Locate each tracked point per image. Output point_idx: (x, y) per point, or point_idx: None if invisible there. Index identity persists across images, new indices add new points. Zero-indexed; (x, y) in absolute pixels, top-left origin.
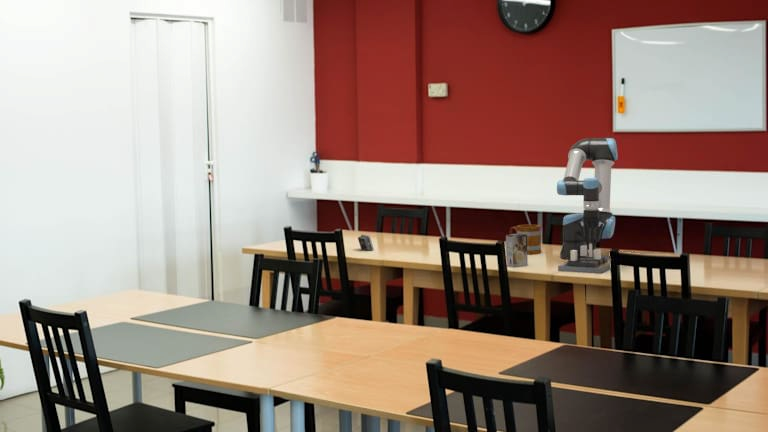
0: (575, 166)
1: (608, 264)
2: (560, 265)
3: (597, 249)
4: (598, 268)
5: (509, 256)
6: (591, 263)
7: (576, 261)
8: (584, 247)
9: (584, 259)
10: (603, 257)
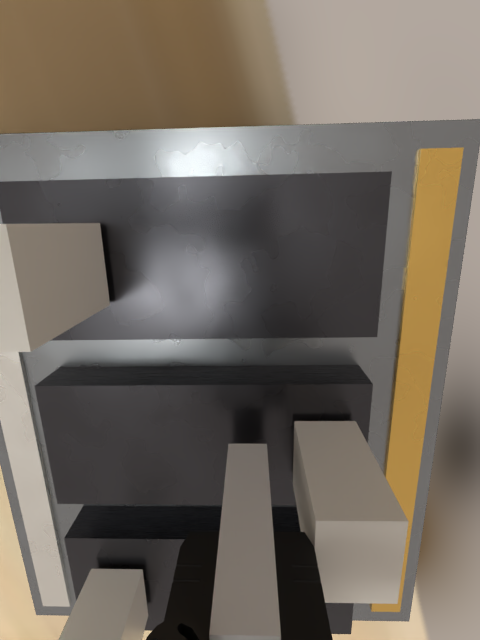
0: None
1: (431, 439)
2: (46, 604)
3: (366, 600)
4: (378, 618)
5: None
6: None
7: (153, 597)
8: (30, 344)
9: (181, 481)
10: (354, 283)
